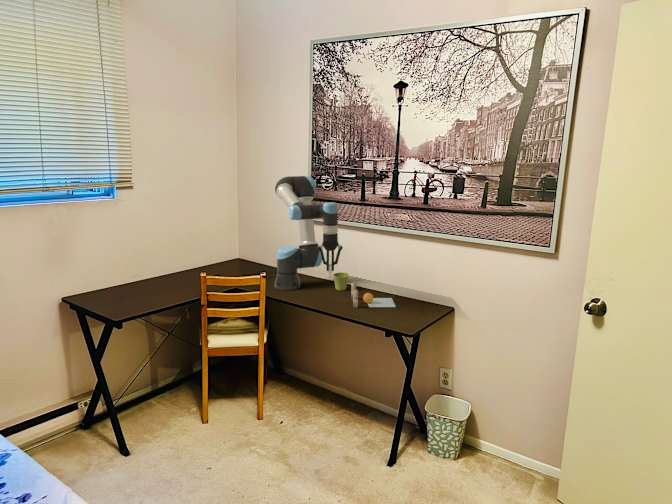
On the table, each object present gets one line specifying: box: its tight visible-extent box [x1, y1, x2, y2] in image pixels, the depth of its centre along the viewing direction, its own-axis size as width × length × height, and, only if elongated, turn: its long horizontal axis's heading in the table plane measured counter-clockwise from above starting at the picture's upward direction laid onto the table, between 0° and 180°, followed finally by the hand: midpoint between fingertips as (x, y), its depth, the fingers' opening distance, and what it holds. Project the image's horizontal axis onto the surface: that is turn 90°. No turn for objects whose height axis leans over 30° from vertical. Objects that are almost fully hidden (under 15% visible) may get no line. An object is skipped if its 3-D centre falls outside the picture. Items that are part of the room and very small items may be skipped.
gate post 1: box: [350, 282, 357, 301], centre depth 269 cm, size 3×3×9 cm
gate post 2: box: [352, 289, 359, 309], centre depth 256 cm, size 3×3×9 cm
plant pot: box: [332, 272, 350, 291], centre depth 286 cm, size 9×9×9 cm
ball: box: [362, 292, 374, 304], centre depth 263 cm, size 6×6×6 cm
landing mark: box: [367, 297, 396, 308], centre depth 264 cm, size 14×14×1 cm
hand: (330, 277), depth 260 cm, fingers closed
